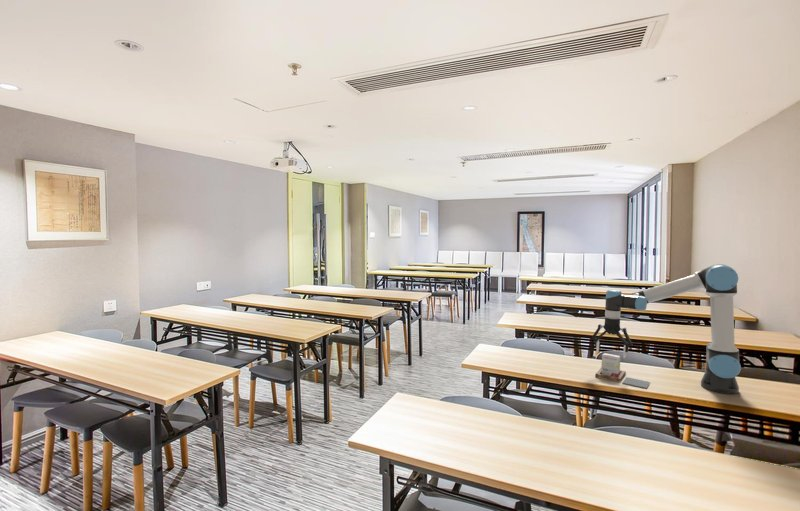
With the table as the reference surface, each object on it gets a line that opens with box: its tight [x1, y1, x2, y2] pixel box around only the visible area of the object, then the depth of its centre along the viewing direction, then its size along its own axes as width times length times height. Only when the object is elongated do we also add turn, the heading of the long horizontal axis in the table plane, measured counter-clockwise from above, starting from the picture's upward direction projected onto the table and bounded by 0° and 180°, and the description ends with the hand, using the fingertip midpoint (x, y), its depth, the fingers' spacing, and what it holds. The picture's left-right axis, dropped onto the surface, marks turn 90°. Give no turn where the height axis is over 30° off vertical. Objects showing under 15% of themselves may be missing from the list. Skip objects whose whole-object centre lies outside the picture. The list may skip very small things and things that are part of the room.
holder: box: [595, 367, 627, 383], centre depth 215 cm, size 12×16×2 cm
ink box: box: [601, 352, 621, 377], centre depth 215 cm, size 9×5×12 cm, turn 48°
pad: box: [622, 376, 651, 390], centre depth 204 cm, size 11×11×1 cm
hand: (610, 355), depth 215 cm, fingers open, 13 cm apart
